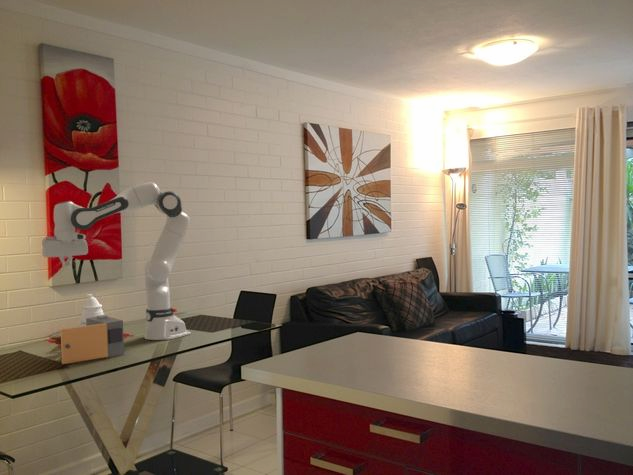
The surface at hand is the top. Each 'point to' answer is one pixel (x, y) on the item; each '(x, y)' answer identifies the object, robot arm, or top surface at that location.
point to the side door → (84, 343)
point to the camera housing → (111, 333)
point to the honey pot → (90, 309)
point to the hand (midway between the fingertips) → (66, 265)
